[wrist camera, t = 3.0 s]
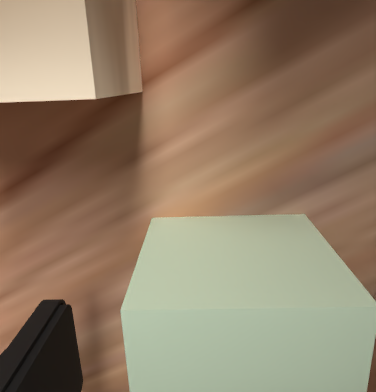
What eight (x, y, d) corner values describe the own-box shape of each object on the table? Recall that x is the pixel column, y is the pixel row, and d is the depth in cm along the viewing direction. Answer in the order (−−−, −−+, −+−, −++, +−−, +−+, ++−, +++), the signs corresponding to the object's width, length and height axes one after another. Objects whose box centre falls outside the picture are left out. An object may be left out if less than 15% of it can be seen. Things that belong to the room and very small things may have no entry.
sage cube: (152, 216, 12) (120, 310, 7) (303, 213, 11) (379, 306, 7) (161, 340, 13) (140, 486, 8) (295, 338, 13) (351, 487, 8)
